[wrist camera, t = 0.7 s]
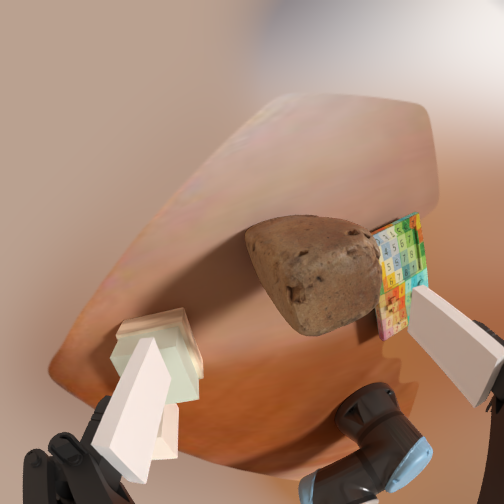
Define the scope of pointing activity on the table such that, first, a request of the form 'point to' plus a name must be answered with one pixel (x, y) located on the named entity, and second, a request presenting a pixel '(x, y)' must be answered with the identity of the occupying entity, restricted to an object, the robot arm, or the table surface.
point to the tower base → (164, 322)
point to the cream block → (167, 434)
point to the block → (316, 270)
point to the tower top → (174, 358)
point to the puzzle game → (399, 272)
